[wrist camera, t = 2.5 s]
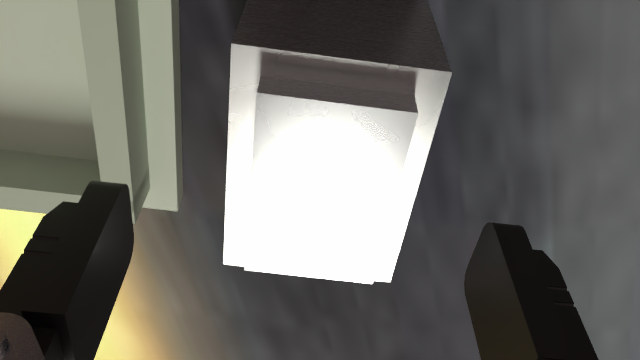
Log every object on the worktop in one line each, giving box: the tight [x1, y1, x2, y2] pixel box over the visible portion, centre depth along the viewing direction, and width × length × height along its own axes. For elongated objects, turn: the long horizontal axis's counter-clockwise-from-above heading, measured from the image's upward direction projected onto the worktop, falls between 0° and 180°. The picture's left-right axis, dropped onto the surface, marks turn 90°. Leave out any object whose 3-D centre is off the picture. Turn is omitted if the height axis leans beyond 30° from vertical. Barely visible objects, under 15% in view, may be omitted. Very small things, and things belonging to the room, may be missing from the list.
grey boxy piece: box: [223, 0, 452, 284], centre depth 17 cm, size 5×7×7 cm
